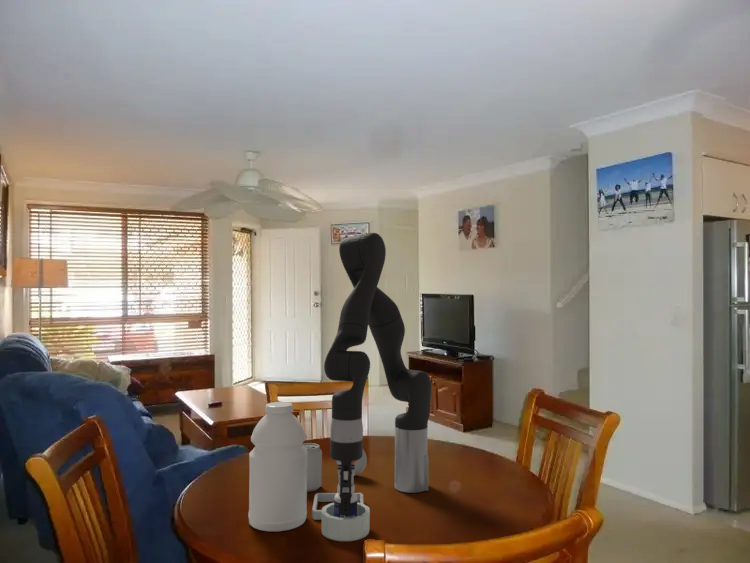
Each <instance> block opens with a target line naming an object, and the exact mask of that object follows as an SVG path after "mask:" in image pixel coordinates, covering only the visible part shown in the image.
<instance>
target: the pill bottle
mask: <svg viewBox="0 0 750 563" xmlns="http://www.w3.org/2000/svg"><path fill="white" fill-rule="evenodd" d="M355 487H356V486H355V484H353V488H352V489H351V494H352V497H351V513H350V515H341V498H340V497H339V496H340V488H339V487H338V484H337V488H336V490H337V492H336V493H337V494H336V495H335V497H334V502H333V503H334V517H339V518H352V517H356V516H357V495H356V494H355V493H356V492H355V490H356V488H355ZM343 493H349V488H343Z"/></svg>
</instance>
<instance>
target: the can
mask: <svg viewBox="0 0 750 563" xmlns="http://www.w3.org/2000/svg"><path fill="white" fill-rule="evenodd" d="M302 446H303V447H304V448H305V449H306V450H307V452H308V457H307V493H309V492H310V493H311V492H314V491H317V490H319V488H320V487H322V478H323V477H322V473H323V472H322V471H323V470H322V469H323V468H322V466H323V465H322V463H323V460H322V458H323V451H322V449H321V448H320V445H319V444H317V443H314V442H306V443H305V442H303V443H302Z"/></svg>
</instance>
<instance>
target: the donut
mask: <svg viewBox="0 0 750 563" xmlns="http://www.w3.org/2000/svg"><path fill="white" fill-rule="evenodd" d="M367 459H368V458H367V454H366V451H365V449H363V456H362V458H361V459H359V460H356V461H355V460H354V463H353V464H355V475H354V476H357V475H360V474H362V472H364V470H365V468H366V466H367V462H368V461H367ZM335 463H336V465H337V466H338V464H341V461H336V460H335Z"/></svg>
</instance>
